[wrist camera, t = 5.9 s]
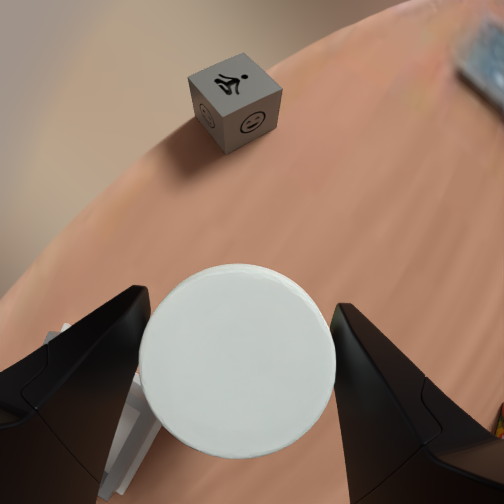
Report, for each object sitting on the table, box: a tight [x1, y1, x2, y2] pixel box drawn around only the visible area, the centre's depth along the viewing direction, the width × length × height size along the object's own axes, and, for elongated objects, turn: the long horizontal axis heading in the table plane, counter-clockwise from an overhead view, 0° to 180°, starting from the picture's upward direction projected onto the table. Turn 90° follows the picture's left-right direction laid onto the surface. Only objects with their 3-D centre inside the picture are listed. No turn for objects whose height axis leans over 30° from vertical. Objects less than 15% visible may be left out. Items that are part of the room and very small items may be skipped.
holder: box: [43, 323, 162, 501], centre depth 18 cm, size 10×10×3 cm
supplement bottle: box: [139, 264, 336, 459], centre depth 11 cm, size 5×5×10 cm
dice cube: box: [188, 53, 283, 154], centre depth 23 cm, size 5×5×5 cm
